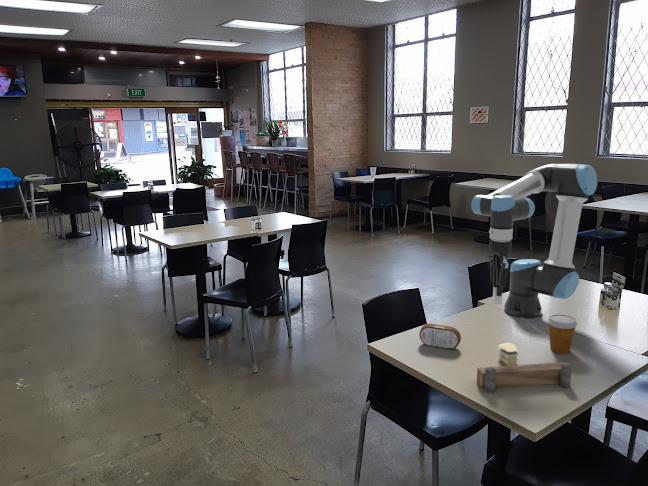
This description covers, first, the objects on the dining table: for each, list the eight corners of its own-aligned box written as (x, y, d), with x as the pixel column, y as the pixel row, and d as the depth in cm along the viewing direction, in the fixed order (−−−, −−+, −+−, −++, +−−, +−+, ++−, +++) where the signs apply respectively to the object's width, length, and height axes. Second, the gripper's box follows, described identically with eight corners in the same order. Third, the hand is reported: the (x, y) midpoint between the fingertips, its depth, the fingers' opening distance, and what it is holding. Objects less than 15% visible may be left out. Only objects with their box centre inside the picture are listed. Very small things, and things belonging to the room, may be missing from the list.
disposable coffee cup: (572, 345, 181) (575, 315, 179) (576, 356, 173) (579, 324, 170) (544, 342, 184) (546, 312, 182) (546, 353, 176) (549, 322, 173)
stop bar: (476, 381, 158) (477, 361, 156) (561, 376, 159) (563, 356, 158) (485, 393, 151) (486, 372, 149) (573, 387, 153) (575, 366, 151)
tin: (460, 348, 182) (461, 327, 180) (459, 351, 179) (460, 330, 177) (420, 342, 188) (420, 321, 186) (418, 345, 185) (418, 324, 184)
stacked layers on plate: (528, 366, 167) (529, 351, 166) (504, 369, 166) (504, 354, 164) (511, 354, 177) (512, 339, 176) (488, 357, 175) (489, 342, 174)
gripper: (483, 236, 179) (480, 298, 184) (497, 244, 166) (494, 310, 171) (503, 235, 179) (499, 297, 185) (519, 243, 167) (515, 309, 172)
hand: (497, 303), depth 178 cm, fingers closed
